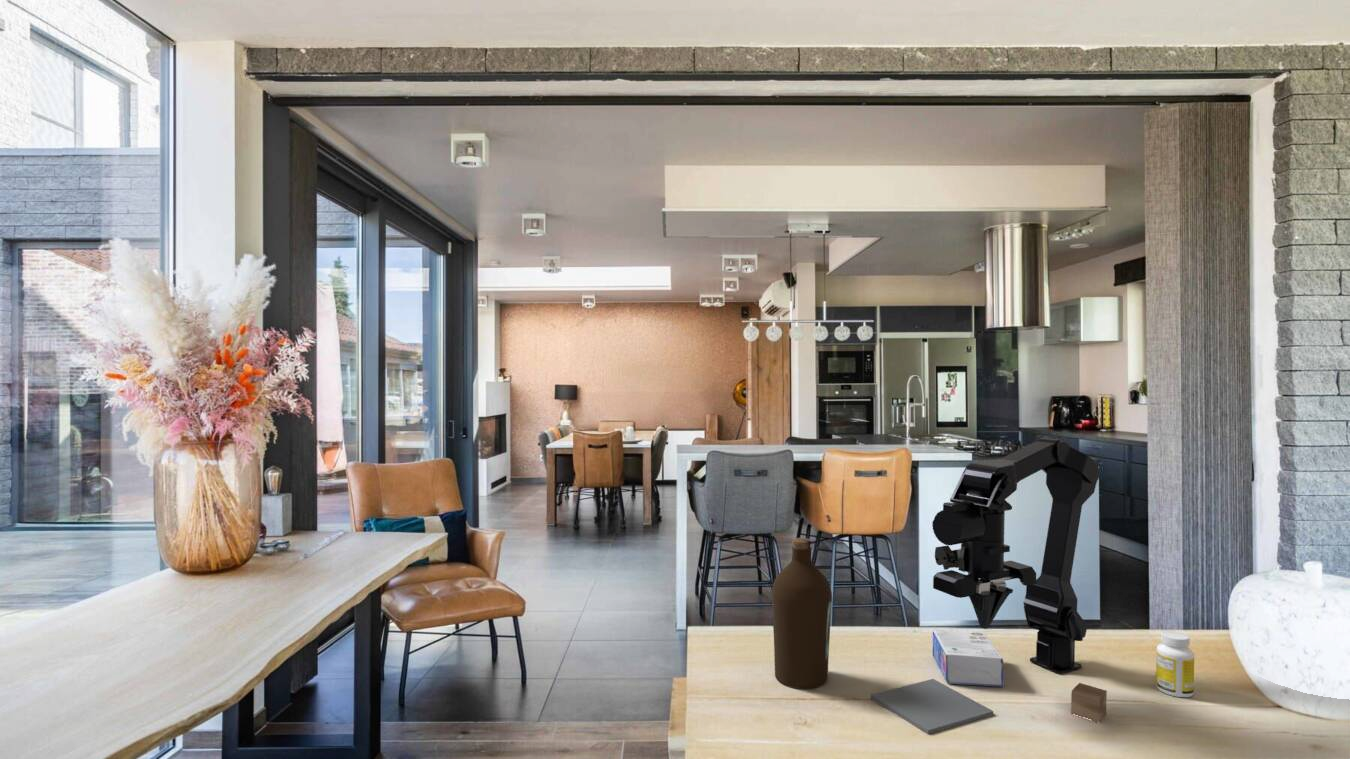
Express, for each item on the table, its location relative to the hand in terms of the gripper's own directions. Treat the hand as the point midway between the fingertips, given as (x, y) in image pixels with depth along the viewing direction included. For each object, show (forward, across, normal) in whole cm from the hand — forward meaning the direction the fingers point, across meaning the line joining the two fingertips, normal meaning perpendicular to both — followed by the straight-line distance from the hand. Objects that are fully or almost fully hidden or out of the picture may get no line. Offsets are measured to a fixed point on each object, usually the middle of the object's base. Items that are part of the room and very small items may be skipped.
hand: (984, 627), depth 125 cm
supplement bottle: (+11, -30, +14) cm, 35 cm away
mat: (+11, +12, 0) cm, 16 cm away
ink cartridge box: (+9, 0, -2) cm, 9 cm away
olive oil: (+12, +25, -18) cm, 33 cm away
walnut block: (+11, -9, +13) cm, 19 cm away
